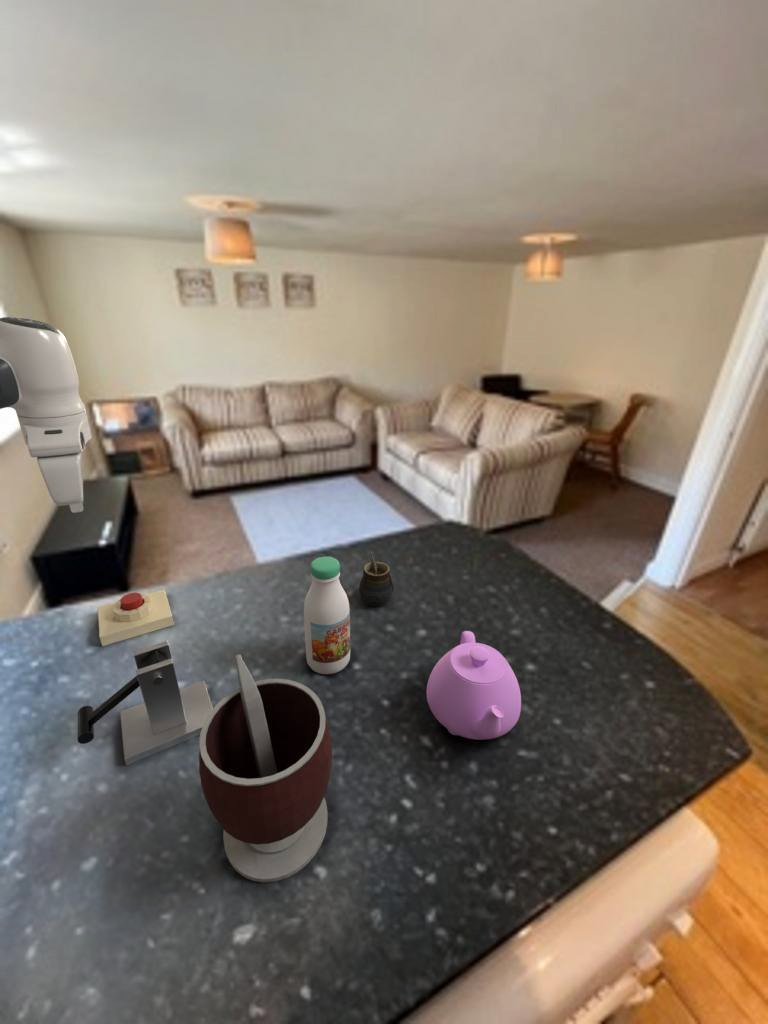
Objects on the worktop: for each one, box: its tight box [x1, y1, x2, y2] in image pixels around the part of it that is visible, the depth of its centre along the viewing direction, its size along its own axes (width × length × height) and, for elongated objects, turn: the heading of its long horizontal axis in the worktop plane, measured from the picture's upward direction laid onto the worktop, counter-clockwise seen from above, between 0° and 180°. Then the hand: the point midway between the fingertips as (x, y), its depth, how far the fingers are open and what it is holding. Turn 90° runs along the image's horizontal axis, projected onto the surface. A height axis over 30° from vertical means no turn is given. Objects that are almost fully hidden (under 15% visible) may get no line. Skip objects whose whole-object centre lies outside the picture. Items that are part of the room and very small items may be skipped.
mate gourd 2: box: [358, 550, 395, 607], centre depth 93 cm, size 7×8×10 cm
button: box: [119, 591, 143, 611], centre depth 85 cm, size 4×4×2 cm
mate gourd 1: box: [198, 654, 333, 883], centre depth 51 cm, size 16×14×20 cm
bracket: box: [119, 640, 214, 766], centre depth 64 cm, size 12×9×13 cm
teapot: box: [426, 630, 522, 741], centre depth 66 cm, size 20×14×12 cm
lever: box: [77, 651, 168, 745], centre depth 61 cm, size 13×5×2 cm, turn 121°
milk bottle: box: [303, 556, 351, 675], centre depth 75 cm, size 8×8×20 cm
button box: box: [97, 589, 175, 647], centre depth 86 cm, size 12×10×4 cm
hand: (77, 509), depth 77 cm, fingers closed
